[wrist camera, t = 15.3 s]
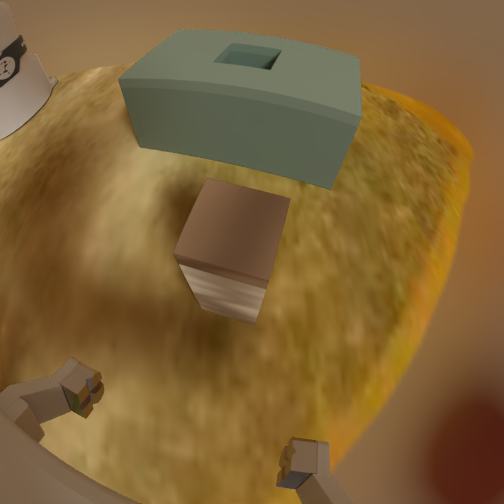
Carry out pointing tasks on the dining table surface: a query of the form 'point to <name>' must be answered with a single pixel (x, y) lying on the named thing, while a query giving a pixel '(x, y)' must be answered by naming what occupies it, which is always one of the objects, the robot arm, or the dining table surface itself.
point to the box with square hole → (247, 102)
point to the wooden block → (231, 247)
